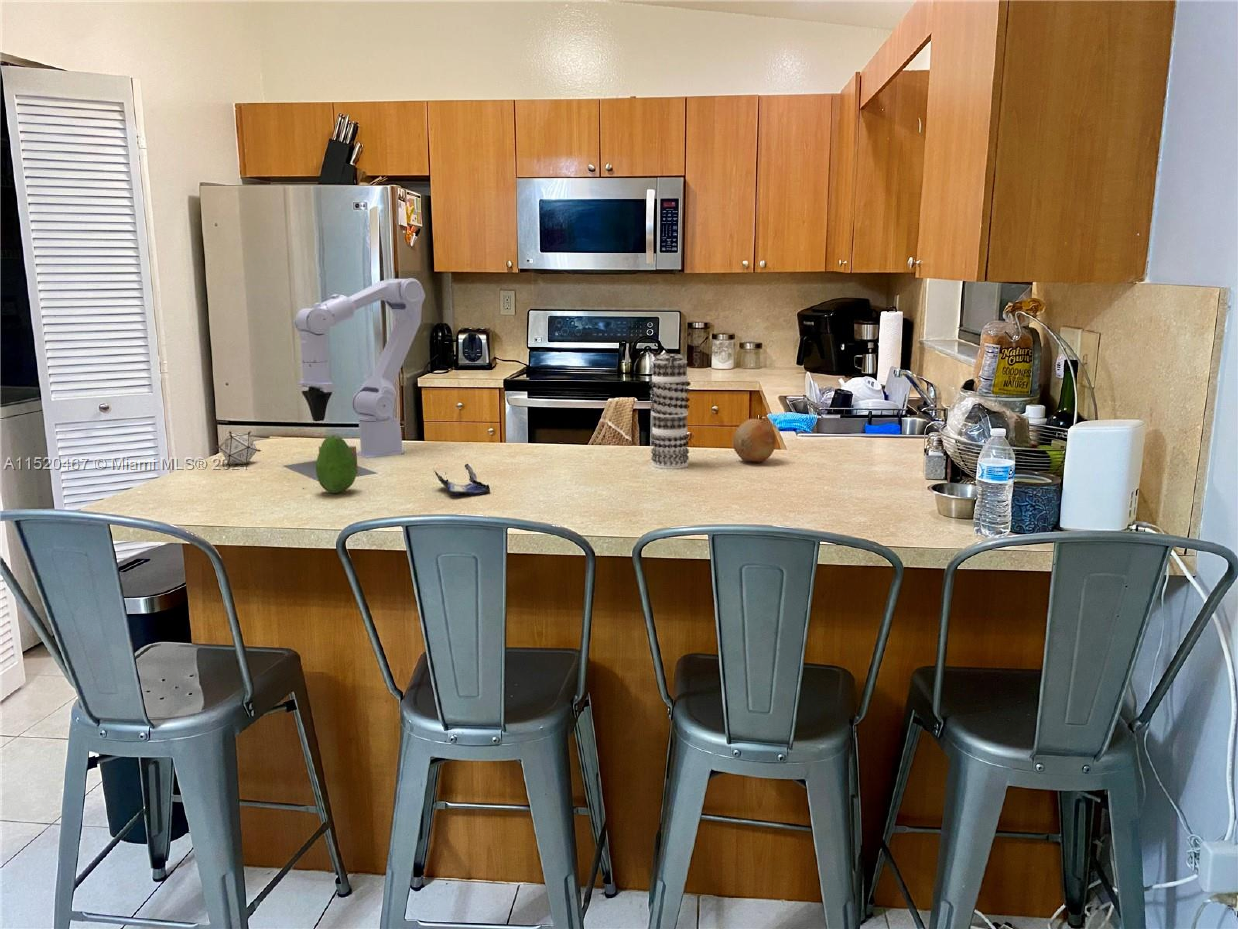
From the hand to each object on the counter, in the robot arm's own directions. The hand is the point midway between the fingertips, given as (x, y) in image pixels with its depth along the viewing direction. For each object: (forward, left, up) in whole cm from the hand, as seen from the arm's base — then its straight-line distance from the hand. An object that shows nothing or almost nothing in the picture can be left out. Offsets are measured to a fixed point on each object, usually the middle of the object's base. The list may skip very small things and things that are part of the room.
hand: (318, 420), depth 209 cm
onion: (-75, +67, -11) cm, 101 cm away
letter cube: (+1, +13, -4) cm, 14 cm away
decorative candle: (-59, +56, -11) cm, 82 cm away
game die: (+14, -13, -11) cm, 22 cm away
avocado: (+8, +29, -11) cm, 32 cm away
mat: (+1, +7, -10) cm, 13 cm away
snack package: (-11, +45, -11) cm, 48 cm away
